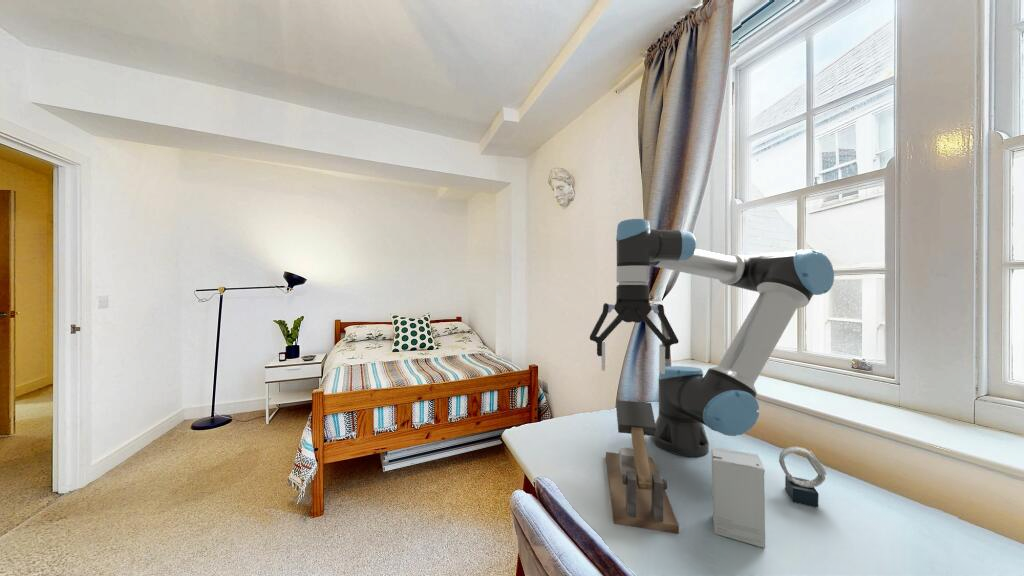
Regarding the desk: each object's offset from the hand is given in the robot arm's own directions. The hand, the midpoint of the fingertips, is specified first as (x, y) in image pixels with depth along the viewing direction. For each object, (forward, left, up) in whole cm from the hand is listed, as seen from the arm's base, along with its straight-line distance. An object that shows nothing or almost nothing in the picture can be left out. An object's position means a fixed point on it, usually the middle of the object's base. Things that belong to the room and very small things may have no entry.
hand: (632, 371), depth 81 cm
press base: (-1, +4, -27) cm, 27 cm away
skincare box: (-18, +14, -27) cm, 35 cm away
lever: (-1, +6, -15) cm, 17 cm away
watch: (-37, -1, -27) cm, 45 cm away
